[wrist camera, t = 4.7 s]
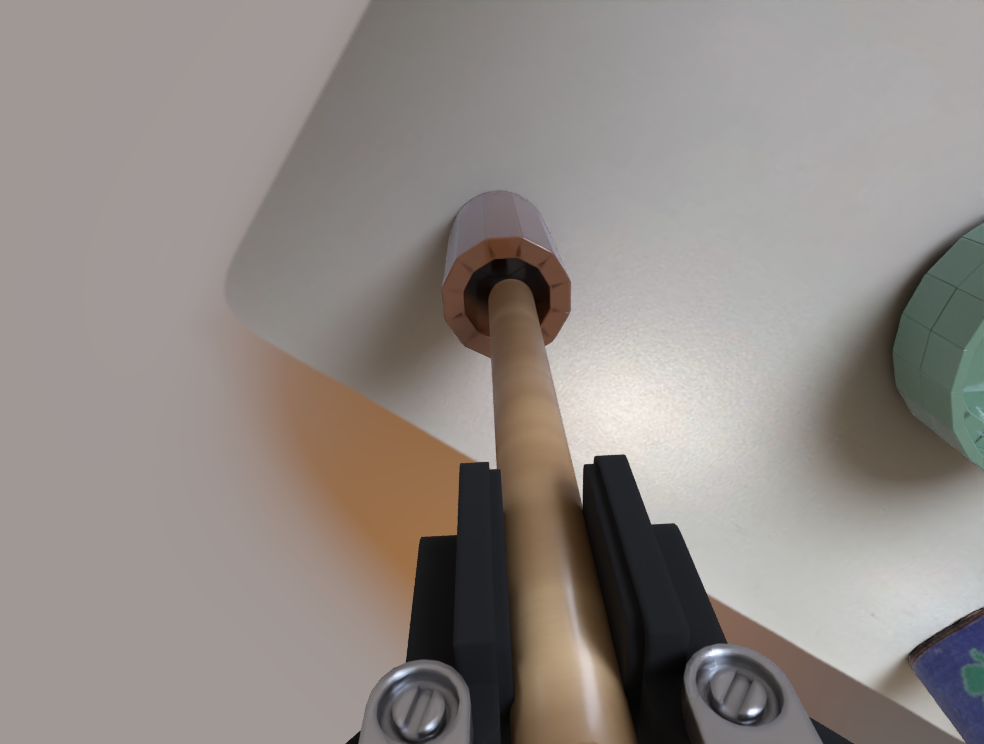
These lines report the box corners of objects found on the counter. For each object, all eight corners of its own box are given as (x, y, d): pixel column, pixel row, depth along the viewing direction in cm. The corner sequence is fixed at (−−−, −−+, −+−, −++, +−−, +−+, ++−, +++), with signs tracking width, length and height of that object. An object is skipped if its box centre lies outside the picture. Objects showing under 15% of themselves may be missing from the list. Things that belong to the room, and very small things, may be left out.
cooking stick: (486, 273, 23) (515, 821, 7) (531, 271, 23) (668, 812, 7) (489, 315, 23) (519, 898, 7) (532, 313, 23) (657, 891, 7)
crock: (446, 193, 31) (437, 241, 23) (545, 187, 31) (571, 233, 23) (454, 287, 33) (447, 362, 25) (547, 282, 33) (570, 355, 25)
